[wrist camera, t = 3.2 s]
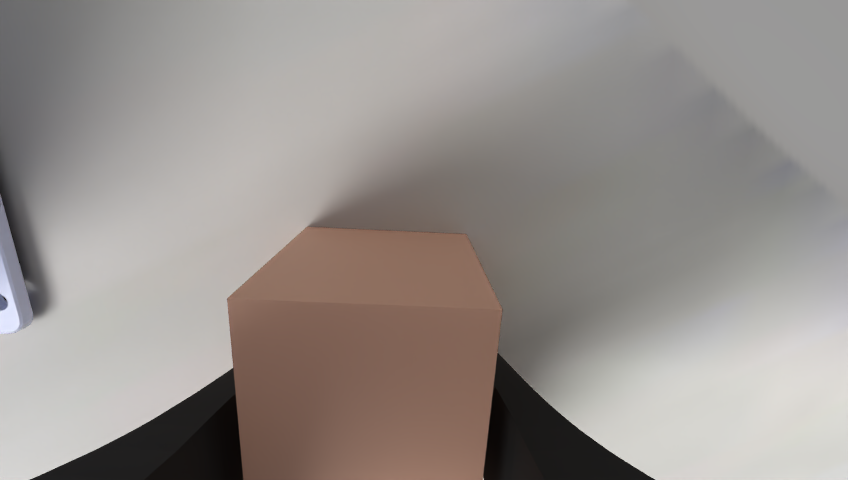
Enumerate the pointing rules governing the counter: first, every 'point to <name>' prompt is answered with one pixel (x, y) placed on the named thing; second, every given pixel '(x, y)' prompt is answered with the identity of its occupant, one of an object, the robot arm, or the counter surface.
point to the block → (365, 358)
